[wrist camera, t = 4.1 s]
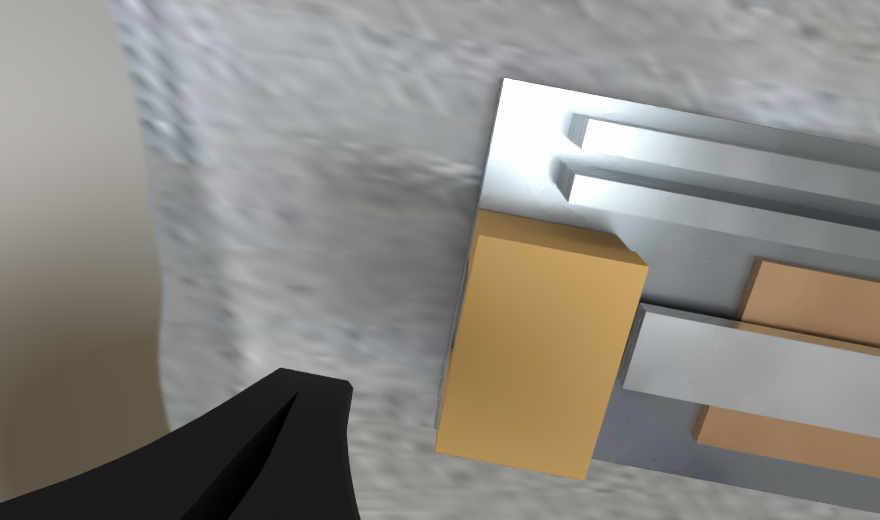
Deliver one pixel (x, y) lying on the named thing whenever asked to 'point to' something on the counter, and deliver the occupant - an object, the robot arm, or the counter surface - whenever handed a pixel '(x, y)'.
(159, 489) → the robot arm
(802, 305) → the grey fixture base plate
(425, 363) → the counter surface
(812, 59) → the counter surface
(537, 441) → the clip
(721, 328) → the strap
